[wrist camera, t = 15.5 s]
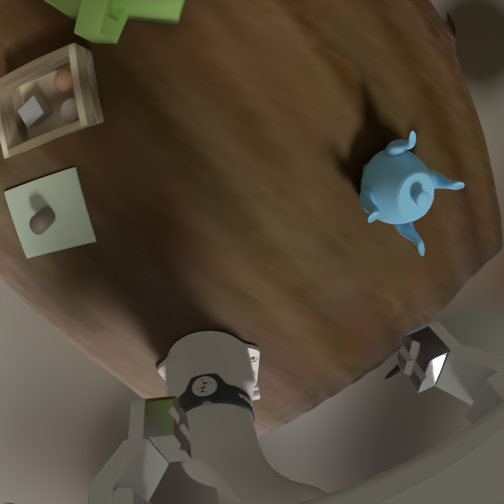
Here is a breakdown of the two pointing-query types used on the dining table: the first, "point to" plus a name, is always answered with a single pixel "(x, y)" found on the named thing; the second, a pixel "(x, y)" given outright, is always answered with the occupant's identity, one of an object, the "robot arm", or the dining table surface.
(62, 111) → the ball cream
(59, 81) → the ball terracotta
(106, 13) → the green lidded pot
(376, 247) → the dining table surface
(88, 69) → the birch box
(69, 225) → the lid
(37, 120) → the grey block
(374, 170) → the teapot
